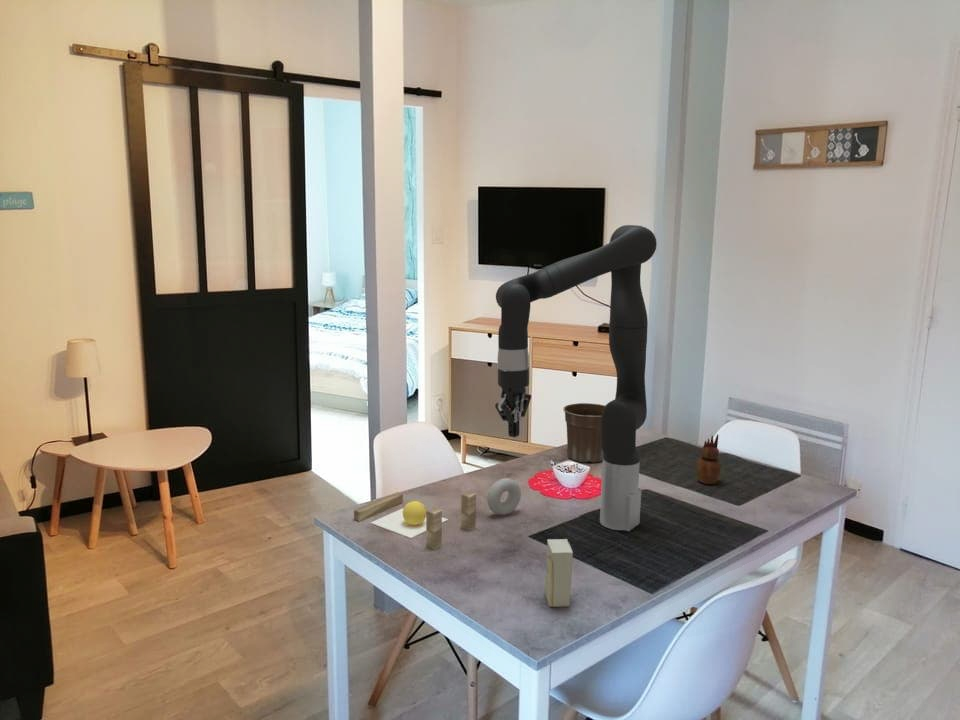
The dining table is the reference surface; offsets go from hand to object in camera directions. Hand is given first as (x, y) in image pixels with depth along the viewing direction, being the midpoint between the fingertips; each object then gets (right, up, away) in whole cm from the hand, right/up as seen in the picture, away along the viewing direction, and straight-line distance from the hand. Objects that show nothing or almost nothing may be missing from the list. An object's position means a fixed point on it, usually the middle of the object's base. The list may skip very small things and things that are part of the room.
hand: (513, 436), depth 182 cm
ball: (-25, -20, +8) cm, 33 cm away
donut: (-2, -22, +15) cm, 27 cm away
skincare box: (+8, -31, -27) cm, 42 cm away
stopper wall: (-35, -21, +16) cm, 44 cm away
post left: (-19, -26, -4) cm, 32 cm away
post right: (-11, -24, +7) cm, 27 cm away
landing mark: (-26, -23, +10) cm, 36 cm away
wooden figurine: (+59, -18, +40) cm, 73 cm away
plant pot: (+26, -13, +61) cm, 67 cm away
